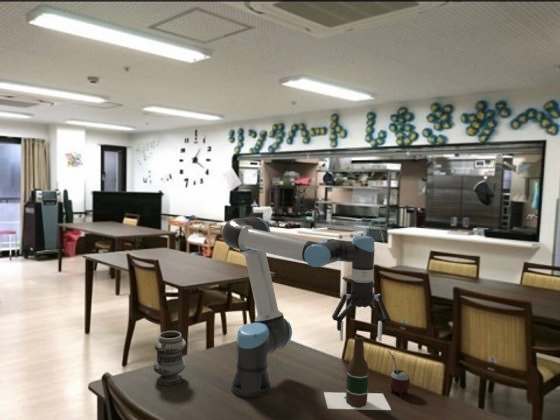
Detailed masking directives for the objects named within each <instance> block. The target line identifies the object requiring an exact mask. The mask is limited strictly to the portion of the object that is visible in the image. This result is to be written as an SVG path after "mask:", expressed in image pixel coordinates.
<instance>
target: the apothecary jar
mask: <svg viewBox="0 0 560 420" xmlns="http://www.w3.org/2000/svg"><path fill="white" fill-rule="evenodd" d="M182 336H183V335H182V333H181V332H180V331H177V330H167V331H163V332H161V333H159V335H158V338H157V339H156V340H155V341H154V345H153V346H154V349H155V351H156V360H155V361H154V363H153V366H152V367H153V370H154V372H155V373H157V374H158V375H159V376H157V377H156V379H155V381H156V383H157V384H159V385H161V386H171V385H177V384H179V383H181V382H182V380H183V377H182V375H180V373H182V372H183V371H184V369H185V368H186V365H187V364H186V361H185V360H184V358H183V350H184V349H185V347H186V344H187V343H186V340H185V339H184V338H183V337H182Z"/></svg>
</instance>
